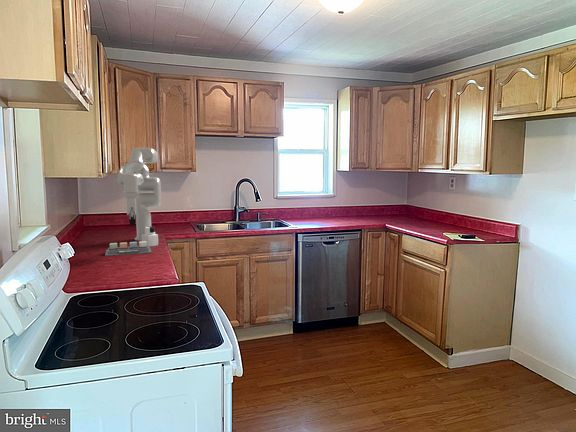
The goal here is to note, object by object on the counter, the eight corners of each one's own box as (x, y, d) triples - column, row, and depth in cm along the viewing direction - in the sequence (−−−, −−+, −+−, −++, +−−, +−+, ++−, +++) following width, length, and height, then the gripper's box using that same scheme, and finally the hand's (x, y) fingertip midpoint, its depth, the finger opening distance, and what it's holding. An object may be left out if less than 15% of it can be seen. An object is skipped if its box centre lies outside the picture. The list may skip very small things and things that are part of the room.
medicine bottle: (152, 244, 270) (151, 225, 268) (158, 245, 266) (157, 226, 264) (142, 245, 265) (141, 227, 263) (148, 247, 260) (147, 228, 258)
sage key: (110, 247, 244) (109, 243, 244) (117, 247, 246) (117, 242, 245) (109, 248, 241) (109, 244, 240) (117, 248, 242) (117, 244, 242)
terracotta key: (119, 246, 246) (119, 242, 246) (127, 246, 248) (127, 242, 247) (119, 248, 242) (119, 243, 242) (127, 247, 244) (127, 243, 244)
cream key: (139, 245, 250) (139, 241, 250) (146, 245, 251) (146, 241, 251) (139, 246, 246) (139, 242, 246) (146, 246, 248) (146, 242, 247)
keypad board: (106, 251, 248) (106, 246, 248) (150, 248, 257) (150, 244, 257) (105, 256, 235) (104, 251, 235) (151, 252, 244) (151, 248, 244)
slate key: (129, 246, 248) (129, 242, 248) (136, 245, 249) (136, 241, 249) (129, 247, 244) (129, 243, 244) (137, 247, 246) (136, 242, 245)
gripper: (124, 194, 249) (125, 223, 252) (124, 196, 233) (125, 227, 236) (137, 193, 252) (138, 222, 254) (138, 196, 236) (139, 226, 238)
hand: (132, 224), depth 245 cm, fingers open, 8 cm apart
